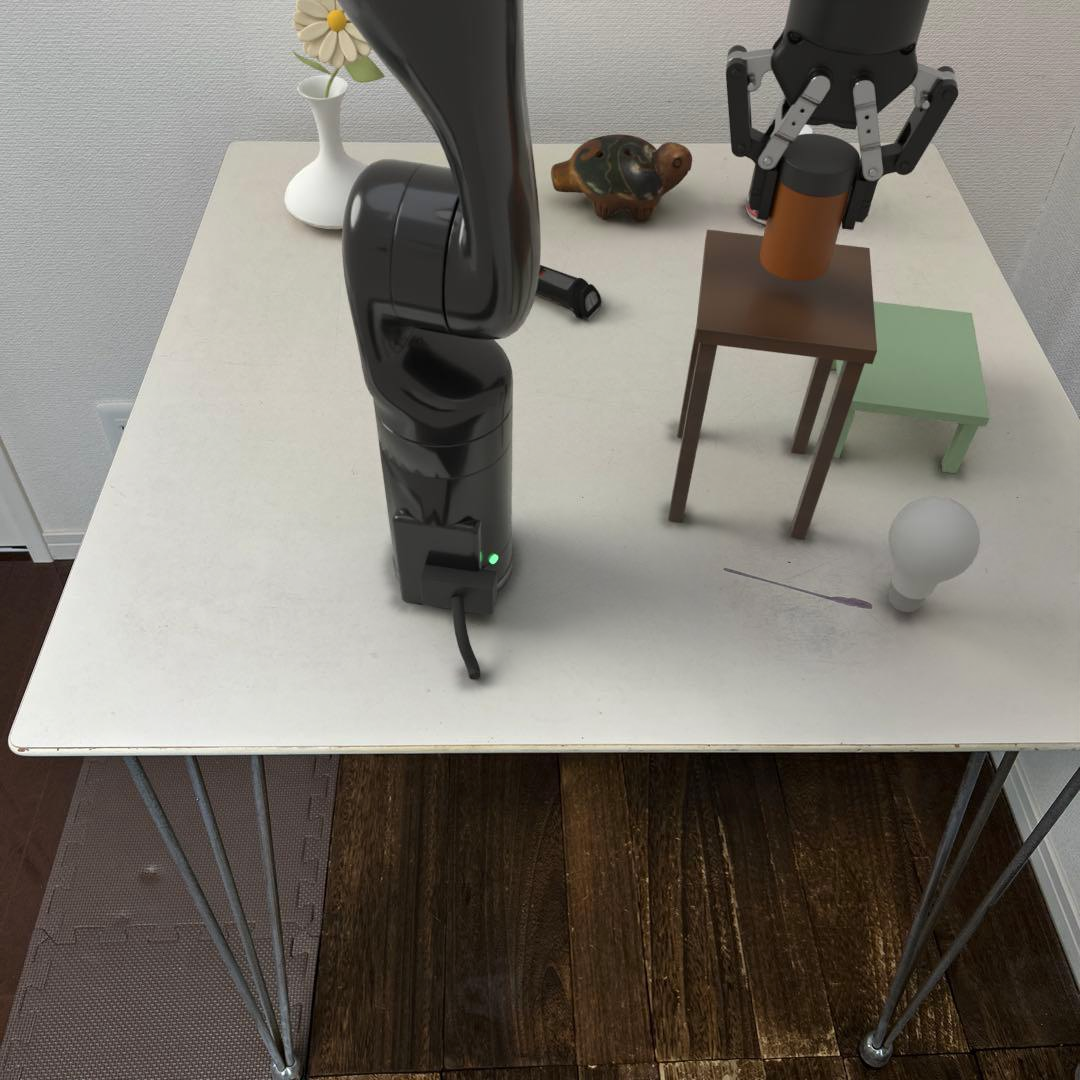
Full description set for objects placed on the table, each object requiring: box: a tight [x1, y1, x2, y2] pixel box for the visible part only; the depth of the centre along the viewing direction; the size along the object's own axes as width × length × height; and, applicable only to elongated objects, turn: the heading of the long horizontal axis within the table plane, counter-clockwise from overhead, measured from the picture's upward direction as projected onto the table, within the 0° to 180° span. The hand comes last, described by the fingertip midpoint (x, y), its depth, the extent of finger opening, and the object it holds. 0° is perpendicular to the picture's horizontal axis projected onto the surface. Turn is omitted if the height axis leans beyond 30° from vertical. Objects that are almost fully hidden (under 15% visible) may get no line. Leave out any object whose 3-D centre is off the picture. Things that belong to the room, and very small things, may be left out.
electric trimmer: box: [536, 264, 602, 320], centre depth 104 cm, size 4×16×3 cm, turn 58°
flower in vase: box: [283, 0, 385, 230], centre depth 104 cm, size 13×11×25 cm
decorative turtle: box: [550, 133, 693, 224], centre depth 113 cm, size 10×15×8 cm, turn 89°
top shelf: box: [667, 229, 877, 540], centre depth 81 cm, size 12×12×20 cm
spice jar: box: [759, 133, 861, 281], centre depth 69 cm, size 5×5×8 cm
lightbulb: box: [887, 495, 981, 613], centre depth 76 cm, size 6×6×11 cm
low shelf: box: [831, 301, 991, 474], centre depth 92 cm, size 14×12×7 cm
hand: (804, 217), depth 69 cm, fingers closed on spice jar, 5 cm apart
